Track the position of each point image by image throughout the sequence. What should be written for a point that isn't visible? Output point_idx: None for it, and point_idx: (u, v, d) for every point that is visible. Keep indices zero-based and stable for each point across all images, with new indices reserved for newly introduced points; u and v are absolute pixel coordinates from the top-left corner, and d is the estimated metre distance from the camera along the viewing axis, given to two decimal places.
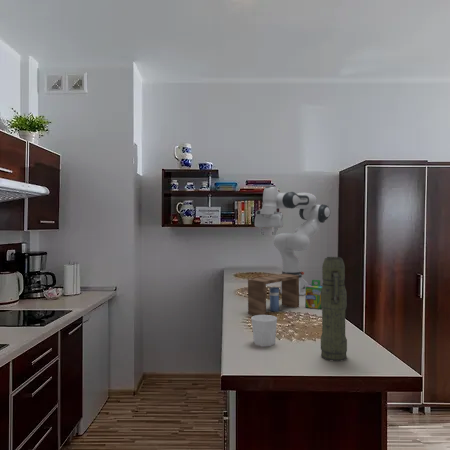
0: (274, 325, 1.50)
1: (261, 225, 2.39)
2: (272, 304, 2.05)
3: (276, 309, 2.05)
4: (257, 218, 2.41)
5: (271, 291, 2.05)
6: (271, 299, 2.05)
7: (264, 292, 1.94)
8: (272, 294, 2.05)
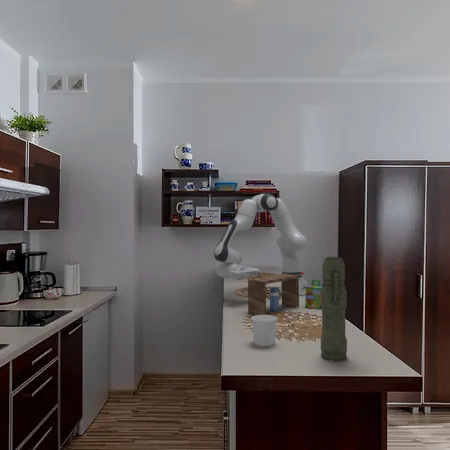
0: (274, 325, 1.50)
1: None
2: (272, 304, 2.05)
3: (276, 309, 2.05)
4: None
5: (271, 291, 2.05)
6: (271, 299, 2.05)
7: (264, 292, 1.94)
8: (272, 294, 2.05)
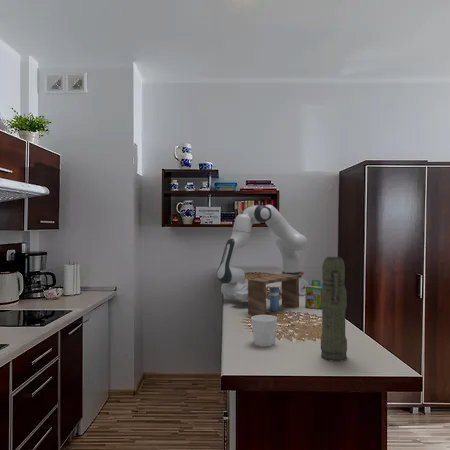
0: (274, 325, 1.50)
1: None
2: (272, 304, 2.05)
3: (276, 309, 2.05)
4: None
5: (271, 291, 2.05)
6: (271, 299, 2.05)
7: (264, 292, 1.94)
8: (272, 294, 2.05)
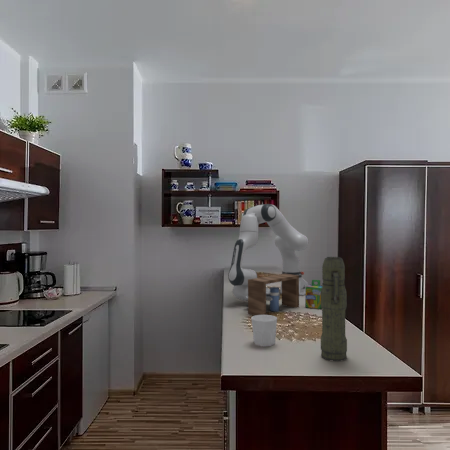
0: (274, 325, 1.50)
1: None
2: (272, 304, 2.05)
3: (276, 309, 2.05)
4: None
5: (271, 291, 2.05)
6: None
7: (264, 292, 1.94)
8: (272, 294, 2.05)
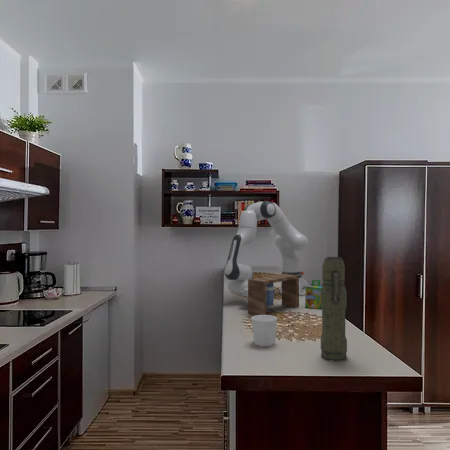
0: (274, 325, 1.50)
1: None
2: (267, 298, 2.08)
3: (271, 303, 2.07)
4: None
5: (266, 286, 2.08)
6: None
7: (264, 292, 1.94)
8: (267, 289, 2.07)
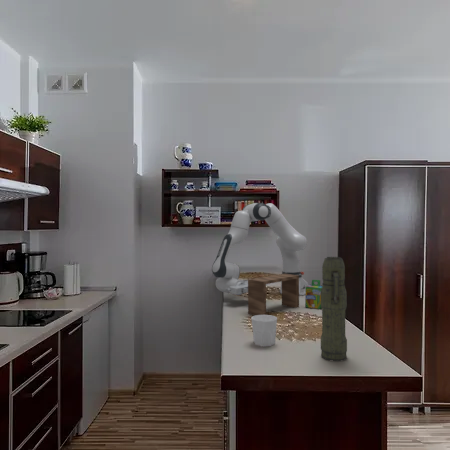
0: (274, 325, 1.50)
1: None
2: None
3: None
4: None
5: None
6: None
7: (264, 292, 1.94)
8: None
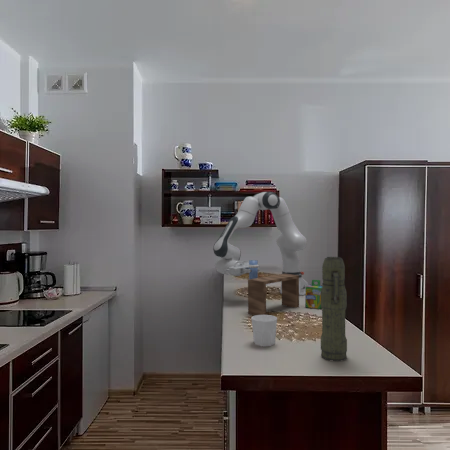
0: (274, 325, 1.50)
1: None
2: (251, 276, 2.16)
3: None
4: None
5: (250, 263, 2.16)
6: None
7: (264, 292, 1.94)
8: (251, 266, 2.15)
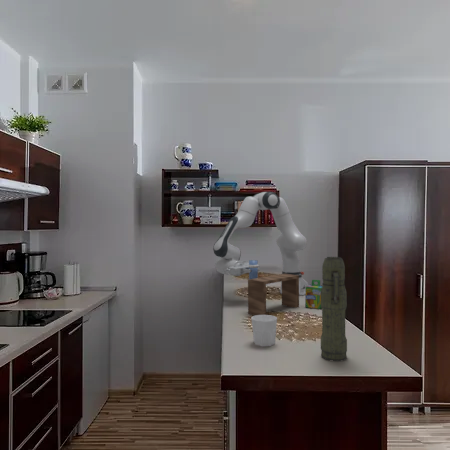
0: (274, 325, 1.50)
1: None
2: (251, 276, 2.16)
3: None
4: None
5: (250, 263, 2.16)
6: None
7: (264, 292, 1.94)
8: (251, 266, 2.15)
